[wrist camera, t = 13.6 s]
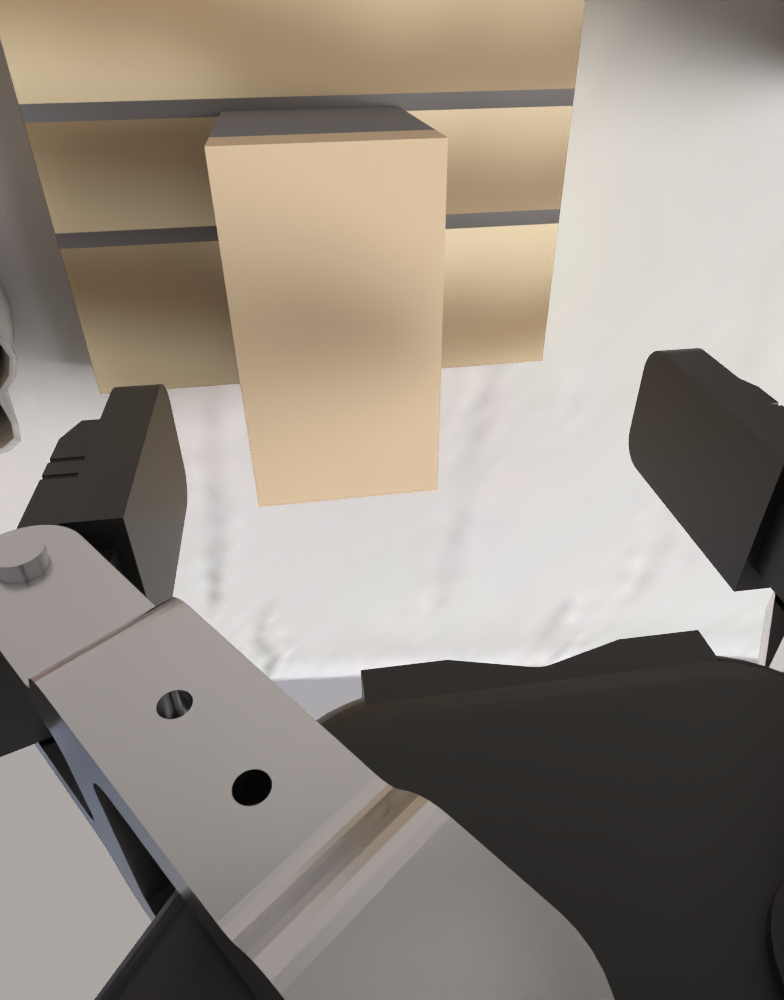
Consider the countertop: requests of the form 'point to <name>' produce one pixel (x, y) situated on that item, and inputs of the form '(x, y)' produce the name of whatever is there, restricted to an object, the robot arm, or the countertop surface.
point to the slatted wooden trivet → (277, 86)
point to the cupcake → (7, 378)
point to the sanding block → (334, 295)
